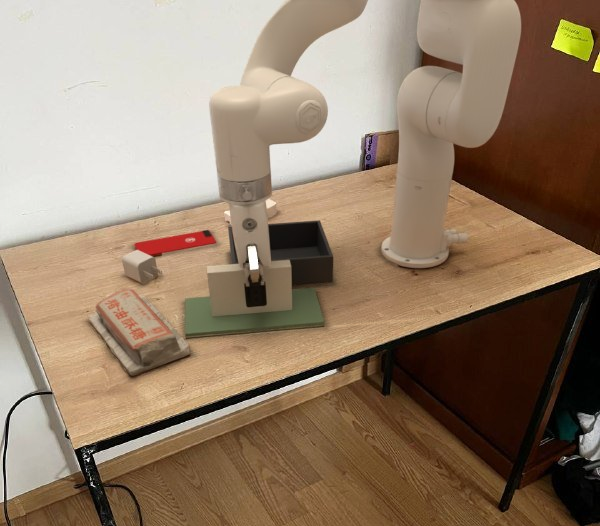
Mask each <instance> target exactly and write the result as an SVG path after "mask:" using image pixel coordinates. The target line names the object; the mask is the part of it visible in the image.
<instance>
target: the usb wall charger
mask: <svg viewBox="0 0 600 526" xmlns="http://www.w3.org/2000/svg"><path fill="white" fill-rule="evenodd" d="M121 263H122V267H123V271H124V275H125V276H127V277H128V278H130V279H133V280H134V281H137V282H138V283H140V284H144V285H145V284H146V283H148V282H150V281H151V280H154V279H155V278H157V277H158V275H163V271H162V269H159V268H158V265H157V259H156V258H155V256H150V255H148V254H146V253H143V252H141V251H139V250H136V249H135V250H133V251H131V252H129V253H127V254H124V255H123V256H122V257H121Z"/></svg>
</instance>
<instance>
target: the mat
mask: <svg viewBox="0 0 600 526" xmlns="http://www.w3.org/2000/svg"><path fill="white" fill-rule="evenodd" d="M324 327H325V319H324V315H323V312H322V309H321V306H320V303H319V299H318V296H317V292H316V289H315V287H308V288H297V289H292V310H287V311H275V312H263V313H251V314H239V315H227V316H215V317H213V316H212V310H211V302H210V295H209V296H198V297H197V296H196V297H186V298H185V299H184V336H185V339H186V340H189V339H202V338H213V337H224V336H236V335H247V334H259V333H260V334H261V333H270V332H280V331H281V332H282V331H292V330H304V329H305V330H306V329H317V328H324Z"/></svg>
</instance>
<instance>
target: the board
mask: <svg viewBox="0 0 600 526" xmlns="http://www.w3.org/2000/svg"><path fill="white" fill-rule="evenodd" d="M258 263H259V262H258ZM246 264H249V263H246ZM262 265H263V264H262ZM262 267H263V276H264V281H265V283H266V297H267V305H266V306H258V307H247V306H246V299H245V289H244V283H246V282H245V273H244V269H242V268H241V267H240V266H239V264H232V263H231V264H230V263H229V264H216V265H207V266H206V276H207V277H206V278H207V284H208V293H209V296H210V302H211V310H212V316H213V317H215V316H227V315H239V314H251V313H263V312H275V311H287V310H292V290H293V286H292V276H291V264H290V260H281V261H271V265H270V267H268V266H265V267H264V266H262ZM249 275H250V269H249V270H248V276H249Z"/></svg>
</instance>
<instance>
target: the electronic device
mask: <svg viewBox="0 0 600 526" xmlns="http://www.w3.org/2000/svg"><path fill="white" fill-rule="evenodd" d="M214 244H217V240H216V239H215V237H214V236H213V234H212V232H211V230H209V229H205V230H201V231H193V232H189V233H184V234H178V235H172V236H168V237H160V238H155V239H150V240H149V239H148V240H143V241H139V242H135V243H134V247H135V250H139V251H141V252H143V253H146V254H148V255H150V256H152V257H156V256H162V255H163V254H167V253H171V252H176V251H182V250H187V249H194V248H199V247H203V246H208V245H214Z"/></svg>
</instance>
